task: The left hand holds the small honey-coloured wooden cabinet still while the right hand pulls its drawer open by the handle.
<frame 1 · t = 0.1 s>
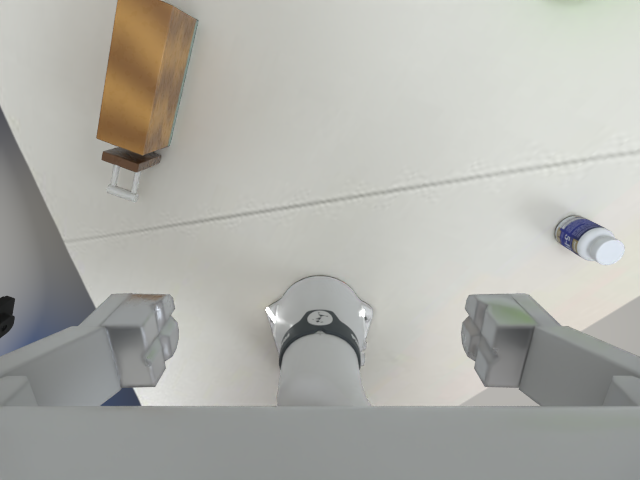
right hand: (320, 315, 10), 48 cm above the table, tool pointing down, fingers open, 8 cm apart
drawer: (140, 122, 50), point 5 cm above the table, slide at 1.6 cm
cabinet: (162, 78, 52), on the table
pill bottle: (569, 230, 60), on the table
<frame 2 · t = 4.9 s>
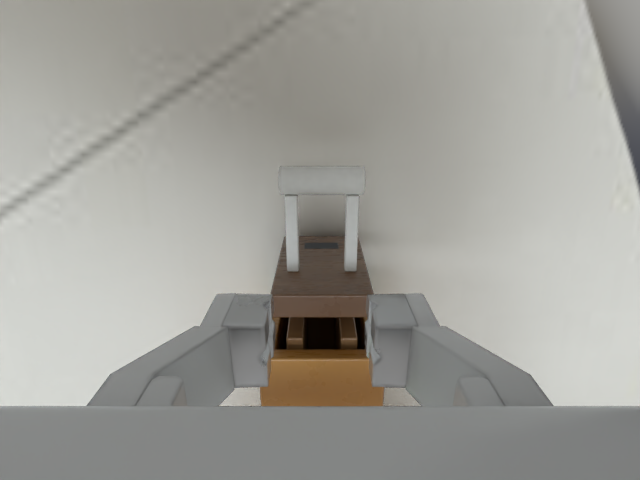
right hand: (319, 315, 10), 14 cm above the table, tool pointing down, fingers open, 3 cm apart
drawer: (321, 346, 22), point 5 cm above the table, slide at 1.6 cm
cabinet: (321, 372, 28), on the table, touching left hand
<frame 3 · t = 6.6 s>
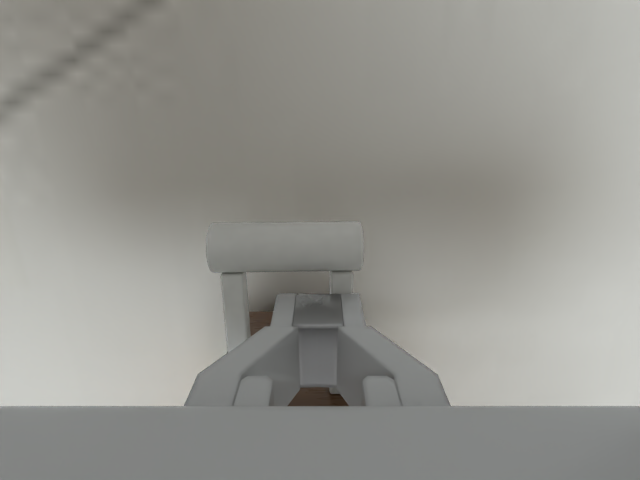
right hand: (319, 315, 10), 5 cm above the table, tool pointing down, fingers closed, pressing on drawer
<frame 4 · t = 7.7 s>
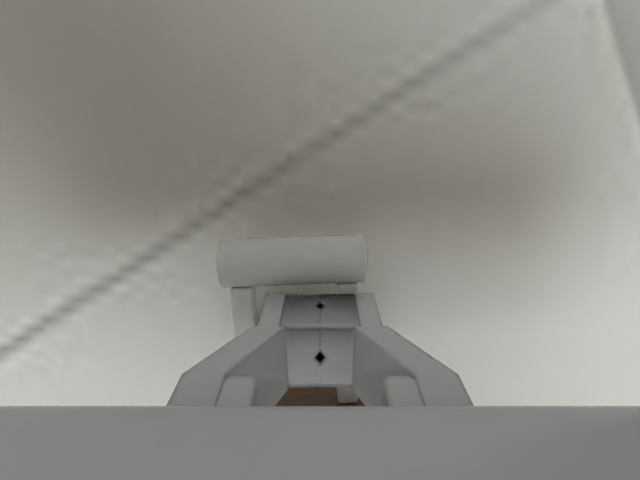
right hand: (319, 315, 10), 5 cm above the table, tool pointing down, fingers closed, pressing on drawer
when the left hand's fingers open (6 cm above the table, at t = 9.5 s): cabinet stays where it is, on the table.
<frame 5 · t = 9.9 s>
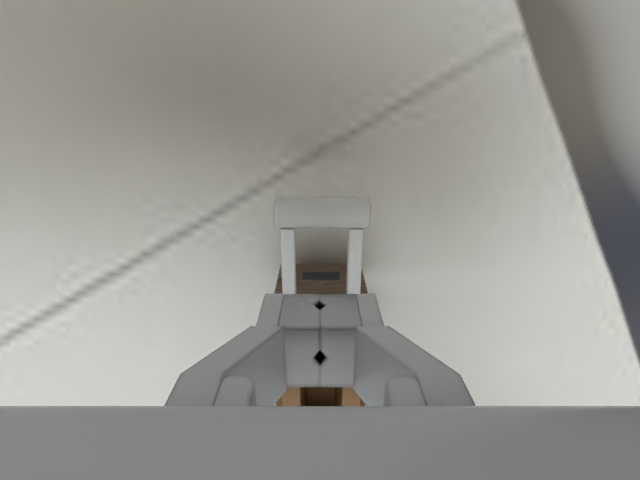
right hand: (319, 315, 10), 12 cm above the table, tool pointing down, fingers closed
drawer: (320, 385, 20), point 5 cm above the table, slide at 8.6 cm
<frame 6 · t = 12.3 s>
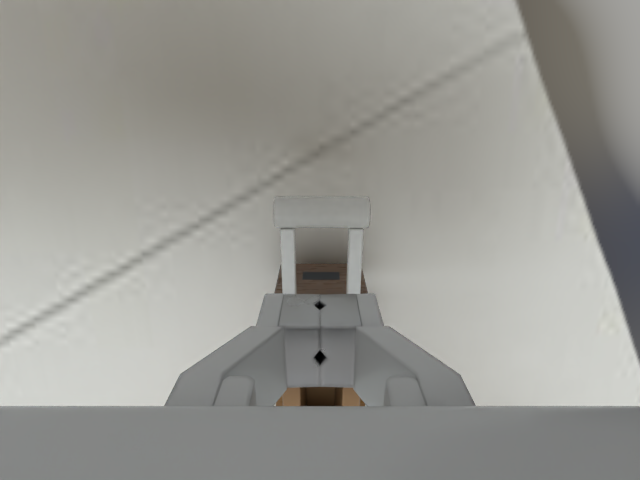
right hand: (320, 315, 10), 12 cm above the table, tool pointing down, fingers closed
drawer: (320, 385, 20), point 5 cm above the table, slide at 8.6 cm
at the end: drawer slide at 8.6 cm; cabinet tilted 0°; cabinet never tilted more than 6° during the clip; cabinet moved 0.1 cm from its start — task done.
